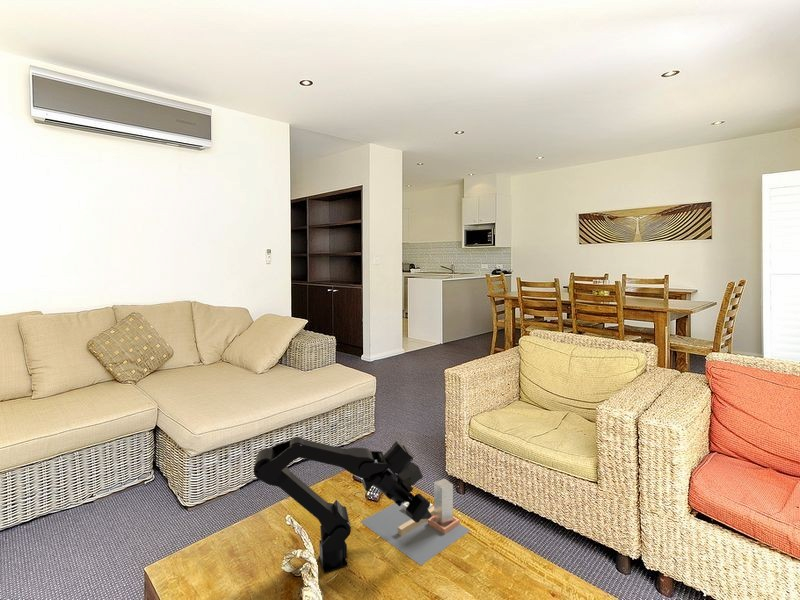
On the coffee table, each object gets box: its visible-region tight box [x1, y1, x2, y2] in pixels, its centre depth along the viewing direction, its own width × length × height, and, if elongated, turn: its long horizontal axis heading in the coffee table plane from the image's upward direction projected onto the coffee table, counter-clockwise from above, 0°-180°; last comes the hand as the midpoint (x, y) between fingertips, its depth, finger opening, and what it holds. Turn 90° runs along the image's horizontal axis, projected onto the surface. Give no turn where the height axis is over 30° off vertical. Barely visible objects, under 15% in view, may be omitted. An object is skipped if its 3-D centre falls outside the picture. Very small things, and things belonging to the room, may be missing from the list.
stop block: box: [433, 478, 454, 528], centre depth 131 cm, size 4×4×13 cm
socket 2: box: [428, 515, 461, 534], centre depth 131 cm, size 7×7×2 cm
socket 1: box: [403, 502, 434, 510], centre depth 140 cm, size 7×7×2 cm
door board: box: [360, 502, 472, 566], centre depth 131 cm, size 21×26×4 cm
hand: (421, 508), depth 127 cm, fingers open, 9 cm apart
